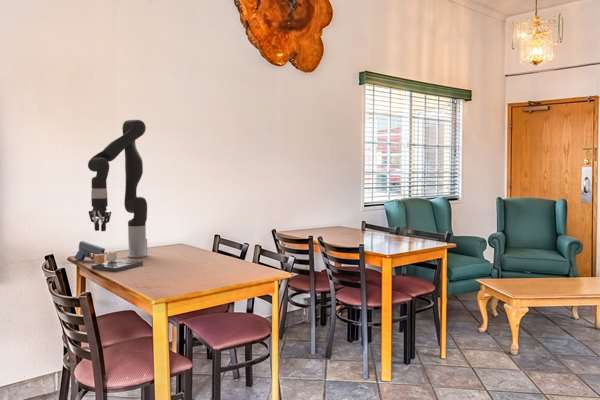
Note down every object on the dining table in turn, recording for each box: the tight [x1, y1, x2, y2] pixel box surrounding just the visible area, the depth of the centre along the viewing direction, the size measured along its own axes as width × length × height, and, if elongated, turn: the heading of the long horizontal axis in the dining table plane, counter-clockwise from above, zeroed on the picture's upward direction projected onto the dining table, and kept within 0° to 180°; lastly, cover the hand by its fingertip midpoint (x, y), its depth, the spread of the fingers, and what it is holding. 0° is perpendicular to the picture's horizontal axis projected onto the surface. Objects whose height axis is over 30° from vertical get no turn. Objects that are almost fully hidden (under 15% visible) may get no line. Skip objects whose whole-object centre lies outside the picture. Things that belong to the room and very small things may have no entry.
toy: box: [74, 240, 106, 261], centre depth 256 cm, size 3×16×10 cm, turn 78°
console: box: [90, 258, 144, 273], centre depth 240 cm, size 18×16×2 cm
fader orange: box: [93, 253, 105, 264], centre depth 236 cm, size 4×3×5 cm
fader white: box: [106, 250, 118, 262], centre depth 243 cm, size 4×3×5 cm
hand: (100, 230), depth 246 cm, fingers open, 3 cm apart
